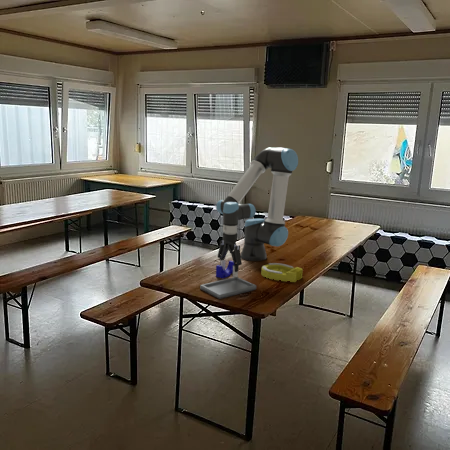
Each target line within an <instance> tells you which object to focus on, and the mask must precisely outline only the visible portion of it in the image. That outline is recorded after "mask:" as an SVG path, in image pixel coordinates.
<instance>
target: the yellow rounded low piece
mask: <svg viewBox="0 0 450 450" xmlns="http://www.w3.org/2000/svg"><path fill="white" fill-rule="evenodd" d="M303 270H304V269H303V268H302V267H298V266H296V267H294V266H292V265H290V264H285V263H281V262H280V263H279V262H278V263H277V262H272V263H271V262H269V263H268V264H265V265H262V266H261V276H262V277H263V278H265V277H266V279H268V278H269V280H273V279H274V281H279V280H281V282H287V281H290V282H289V283H296V282H297V280H298V281H299V280H301V279H302V278H303V273H304V272H303Z"/></svg>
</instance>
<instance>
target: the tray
mask: <svg viewBox="0 0 450 450" xmlns="http://www.w3.org/2000/svg"><path fill="white" fill-rule="evenodd" d="M199 288H200V290H201V291H204V292H205V293H207V294H209V295H211V296H212V297H215V298H217V299H219V300H221V299H225V298H228V297H229V298H230V297H232V296H236V295H237V296H238V295H240V294H244V293H248V292H252V291H256V290H257V285H256V284H254V283H253V282H249V281H247V280H245V279H244V278H241V277H239V276H238V277H233V276H232V277H230V278H223V279H221V280H215V281H211V282H208V283H203V284H200V287H199Z"/></svg>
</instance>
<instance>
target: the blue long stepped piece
mask: <svg viewBox="0 0 450 450" xmlns="http://www.w3.org/2000/svg"><path fill="white" fill-rule="evenodd" d="M233 265H234V262H233V260H229V261H228V264H227V267H225V271H223V266H221V265H220V264H217V265H216V266H215V277H216V278H220V279H226V278H227V277H231V274H233Z"/></svg>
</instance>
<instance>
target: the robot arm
mask: <svg viewBox="0 0 450 450" xmlns="http://www.w3.org/2000/svg"><path fill="white" fill-rule="evenodd" d="M298 165H299V157H298V154H297V151H295V150H294V149H292V148H287V147H273V146H271V147H270V146H269V147H266V148H264V149H262V150H261V151H260V152H258V153H257V154H256V155H255V156H254V158H252V159H251V162H250V166H249V167H248V168H247V169H246V171H245V172H244V174H243V175H241V177H240V178H239V180H238V181H237V182H236V184H235V186H234V187H233V188H232V189H231V191H230V192H229V193H228V195H227V196H226V198H225V199H219V200H218V201H217V202H216V206H215V208H216V211H217V212H218V214H221V215H223V217H222V218H223V219H222V220H223V221H222V240H219V247H218V252H217V258H218V259H219V262H220V264H219V265H220V266H223V271H225V270H226V262H227V261H226V256H227V254H228V252H229V253H230V256H231V258H232V261H233V262H234V265H233V273H232V278H233V277H238V278H239V266H242V265H243V263H242V260H245V261H251V262H260V261H261V262H262V261H265V260H266V259H267V252H266V247H265V244H266V245H269V246H271V247H281V246H283V245H284V244H285V243H286V241H287V239H288V237H289V230H288V228H287V227H286V226H285V225H286V222H285V220H284V215H285V206H286V199H287V192H288V187H289V186H288V184H289V179H290V178H289V177H291V175H293V171H295V170H296V169H297V167H298ZM268 169H270V172H271V174H272V184H271V189H270V198H269V206H268V211H267V218H253V217H255V215H256V210H257V209H256V207H255V205H254V204H252V203H241V201H242V200H243V199H244V197H245V196H246V195H247V194H248V192H249V191H250V189H251V188H252V187H253V186H254V184H255V182H256V181H257V180H258V179H259V177H260V176H261V175H262V174H264V173H265V172H266V171H267V170H268ZM241 220H245V223H244V235H243V236H244V241H243V243H244V244H243V247H242V251H241V245H238V244H237V241H238V236H239V234H238V232H239V231H238V230H239V221H241Z"/></svg>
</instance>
